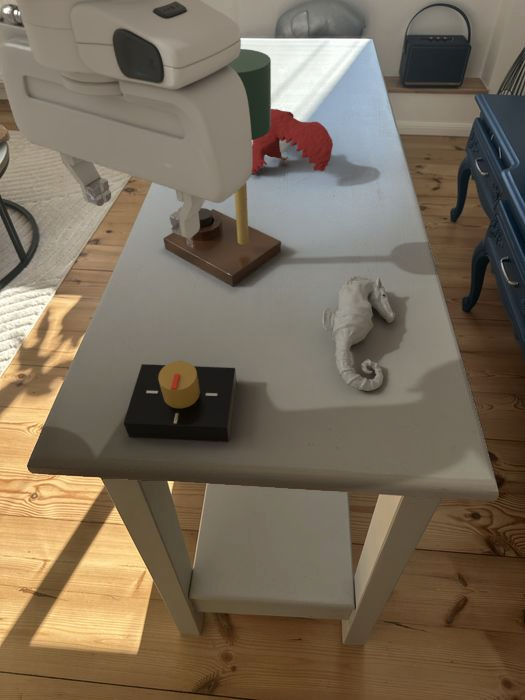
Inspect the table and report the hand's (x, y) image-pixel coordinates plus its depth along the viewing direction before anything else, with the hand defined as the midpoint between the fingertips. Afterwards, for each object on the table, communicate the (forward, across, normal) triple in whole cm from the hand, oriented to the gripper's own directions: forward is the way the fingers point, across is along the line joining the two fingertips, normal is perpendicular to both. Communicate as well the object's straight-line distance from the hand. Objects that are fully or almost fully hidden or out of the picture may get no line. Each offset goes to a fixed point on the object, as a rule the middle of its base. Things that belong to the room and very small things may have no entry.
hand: (141, 216), depth 40 cm
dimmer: (+27, 0, 0) cm, 27 cm away
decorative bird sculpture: (+27, -22, +61) cm, 71 cm away
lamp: (+23, -9, +29) cm, 38 cm away
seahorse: (+27, +14, +22) cm, 38 cm away
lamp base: (+27, -14, +30) cm, 43 cm away
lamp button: (+24, -19, +31) cm, 43 cm away
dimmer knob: (+24, 0, 0) cm, 24 cm away
